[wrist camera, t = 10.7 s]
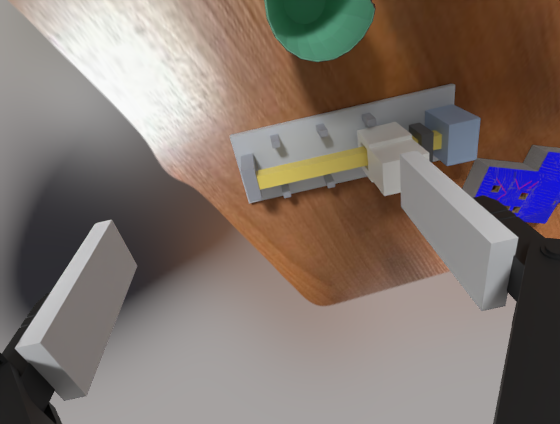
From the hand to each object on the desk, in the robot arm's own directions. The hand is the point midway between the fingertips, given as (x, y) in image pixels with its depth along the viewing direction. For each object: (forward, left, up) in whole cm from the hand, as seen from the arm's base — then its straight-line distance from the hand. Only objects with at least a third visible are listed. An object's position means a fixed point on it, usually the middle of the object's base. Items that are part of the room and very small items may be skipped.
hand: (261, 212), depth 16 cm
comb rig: (+11, +11, -31) cm, 34 cm away
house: (+22, +35, -31) cm, 52 cm away
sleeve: (+11, +14, -29) cm, 34 cm away
